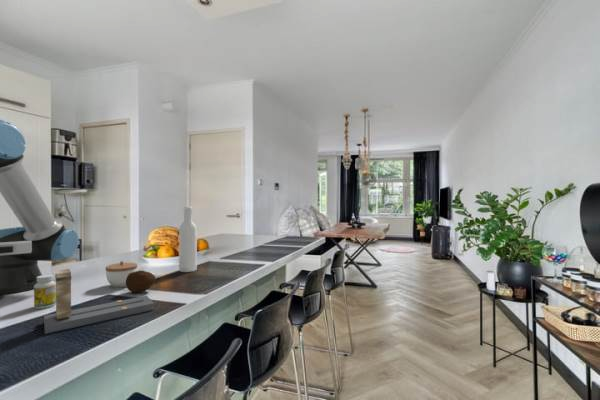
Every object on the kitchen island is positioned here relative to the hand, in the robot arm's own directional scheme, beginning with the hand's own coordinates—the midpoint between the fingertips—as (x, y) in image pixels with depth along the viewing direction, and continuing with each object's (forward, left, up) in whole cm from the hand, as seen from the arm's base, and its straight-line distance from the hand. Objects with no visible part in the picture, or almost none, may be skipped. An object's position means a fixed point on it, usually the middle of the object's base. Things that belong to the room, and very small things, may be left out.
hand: (31, 246), depth 78 cm
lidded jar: (-35, +20, -22) cm, 46 cm away
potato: (-22, +26, -22) cm, 41 cm away
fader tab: (-1, +6, -19) cm, 21 cm away
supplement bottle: (-21, -1, -22) cm, 30 cm away
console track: (-3, +15, -22) cm, 27 cm away
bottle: (-47, +47, -22) cm, 70 cm away
